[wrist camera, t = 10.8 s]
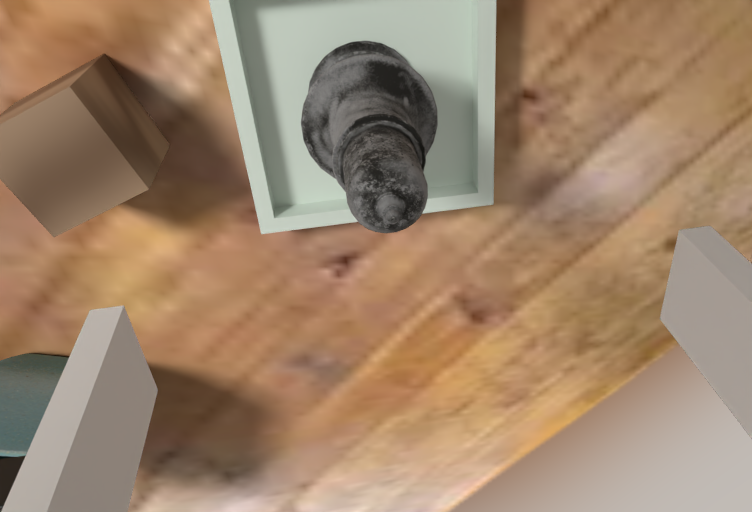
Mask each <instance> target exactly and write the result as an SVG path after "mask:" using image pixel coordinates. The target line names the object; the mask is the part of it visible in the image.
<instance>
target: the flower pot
mask: <svg viewBox="0 0 752 512" xmlns="http://www.w3.org/2000/svg"><path fill="white" fill-rule="evenodd" d="M68 359H69V357H60V356H50V355H40V354H22V355H18V356H14V357H10V358H7V359H4V360H1V361H0V459H5V458H12V457H19V456H26V454H27V452H28V450H29V447H30V445H31V443H32V441H33V438H34V436H35V434H36V431H37V429H38V427H39V425H40V422H41V420H42V418H43V416H44V413H45V411H46V409H47V407H48V404H49V402H50V400H51V398H52V395H53V393H54V391H55V388H56V386H57V384H58V382H59V379H60V377H61V375H62V373H63V370H64V368H65V366H66V364H67V361H68Z"/></svg>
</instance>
